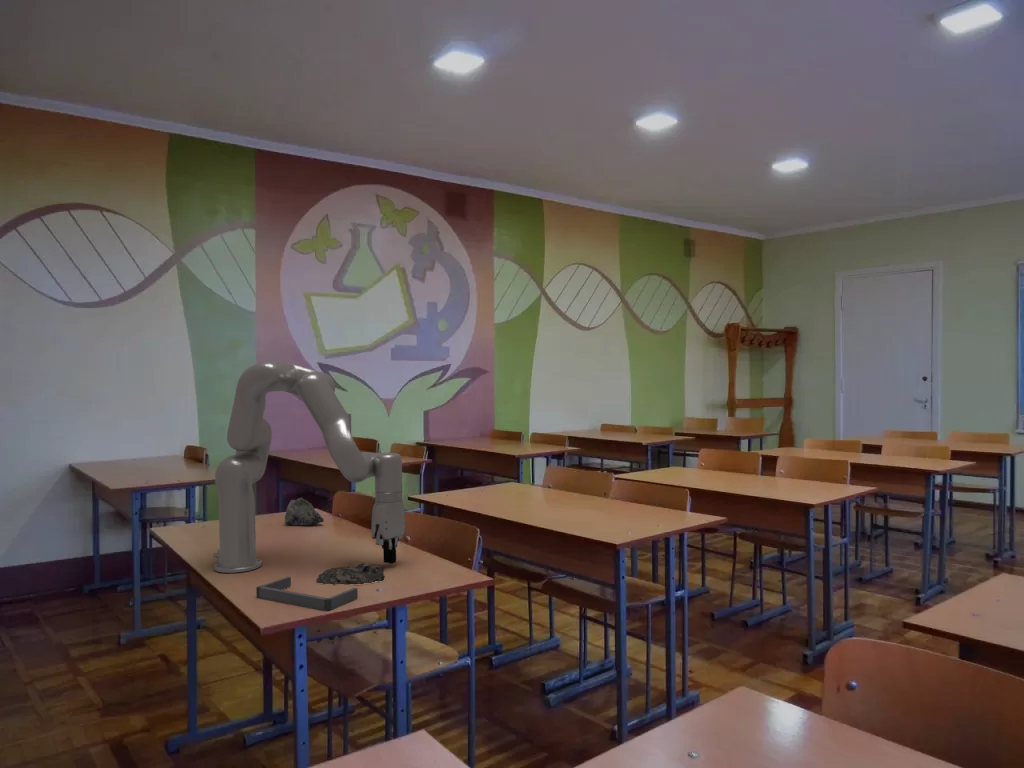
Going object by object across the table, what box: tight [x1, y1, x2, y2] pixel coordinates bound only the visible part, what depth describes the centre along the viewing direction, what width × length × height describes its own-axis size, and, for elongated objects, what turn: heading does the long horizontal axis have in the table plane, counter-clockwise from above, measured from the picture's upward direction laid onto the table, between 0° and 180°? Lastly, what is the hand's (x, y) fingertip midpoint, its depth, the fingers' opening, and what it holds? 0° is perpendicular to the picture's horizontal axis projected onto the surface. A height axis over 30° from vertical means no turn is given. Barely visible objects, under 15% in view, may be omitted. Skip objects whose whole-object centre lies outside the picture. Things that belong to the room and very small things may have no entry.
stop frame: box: [255, 576, 359, 612], centre depth 175 cm, size 23×10×2 cm, turn 61°
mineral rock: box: [284, 497, 325, 526], centre depth 260 cm, size 13×11×10 cm
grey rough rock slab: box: [316, 562, 386, 585], centre depth 191 cm, size 19×4×15 cm
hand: (389, 562), depth 203 cm, fingers closed
